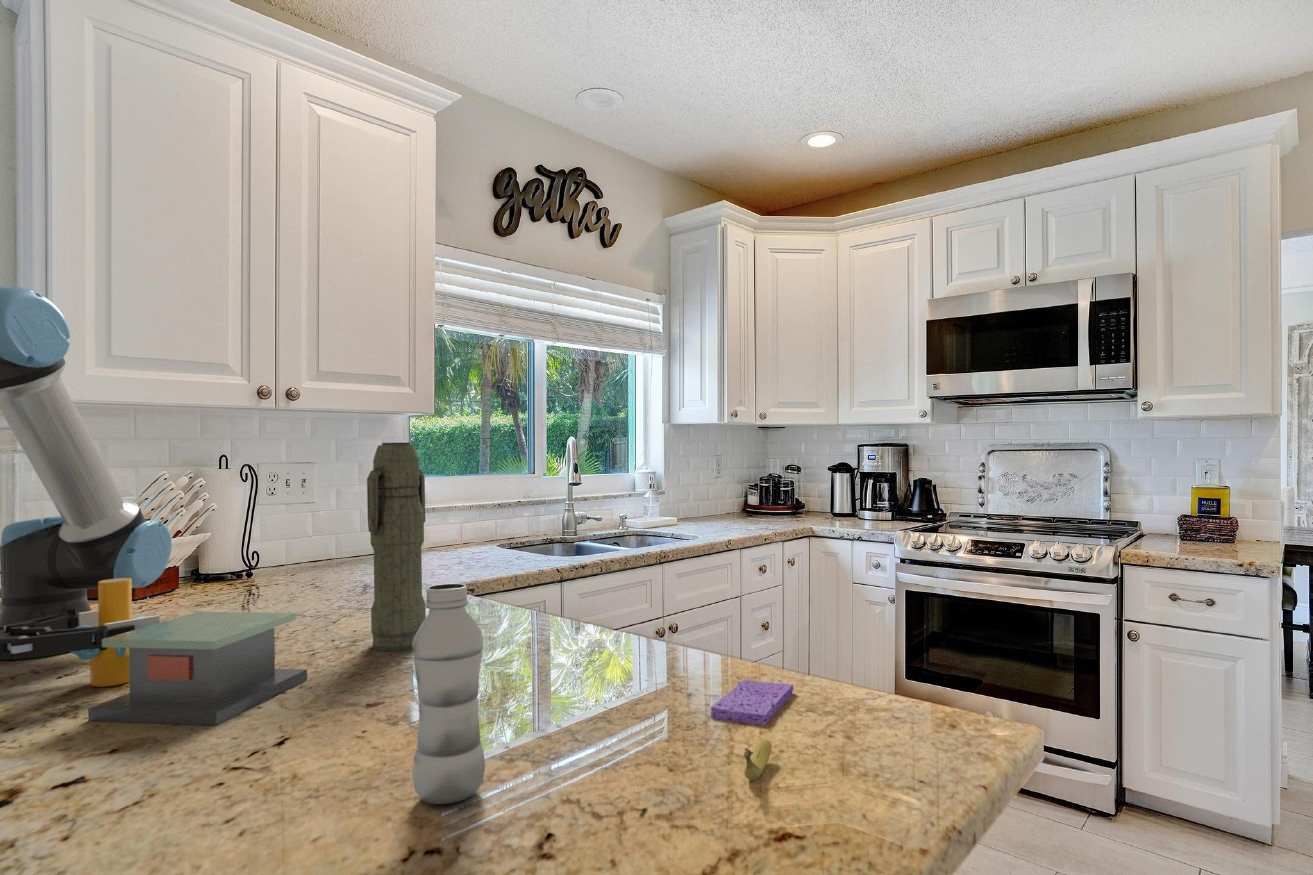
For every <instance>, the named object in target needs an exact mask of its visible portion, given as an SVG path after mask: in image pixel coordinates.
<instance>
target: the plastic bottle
mask: <svg viewBox="0 0 1313 875" xmlns="http://www.w3.org/2000/svg"><path fill="white" fill-rule="evenodd" d="M467 588H468V587H467V584H466V583H454V582H453V583H452V582H450V583H439V584H433V585H430V586H427V587H426V590H425V591H426V601H425V609H428V614H427V615H426V618H425V620H424V621H423V623H422V624H421V626H420V628H419V629H418V631H417V633H416V635H415V637H414V641H413V644H412V649H411V650H412V656H413V663H414V670H415V671H414V672H415V676H416V683H417V698H418V702H419V704H418V715H419V716H418V728H417V740H416V750H415V752H414V753H415V754H414V759H413V762H412V772H411V776H412V781H413V788H414V792H415V793H416V794H417V796H418V797H419V798H420V799H421V800H422V801H423V802H425V803H428V804H433V805H447V804H448V805H449V804H454V803H458V802H462V801H464V800H467V799H468V798H471V797H472V796H473V795H475V794H476V793H477V792H478V790H479V789H480V787H481V785H482V784H483V781H484V775H485V770H486V761H485V754H484V749H483V744H482V741H481V732H480V731H481V730H480V720H479V709H478V708H479V705H478V704H479V698H478V696H479V686H480V683H479V682H480V673H481V666H482V665H481V664H482V657H483V650H484V636H483V633H482V630H481V628H480V626H479V625H478V623H477V622H476V621H475V620H474V618H473V617H472V616H471V615H470V613H468V611H467V608H466V606H468V605H469V598H468V589H467Z"/></svg>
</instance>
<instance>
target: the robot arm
mask: <svg viewBox="0 0 1313 875" xmlns="http://www.w3.org/2000/svg"><path fill="white" fill-rule="evenodd" d="M70 332H71V331H70V327H69V324H68V322H67V320H66V318H65V316H64V314H63V312H61V310H60V309H59V308H58V306H56V305H55V303H53V302H52V300H50V299H48V298H47V297H45V296H44V295H42V294H41V293H38V292H36V291H35V290H34V291H33V290H32V289H29V288H24V287H16V286H5V285H0V412H1V415H2V416H3V418H4V420H5V422H6V423H7V424H8V426H9V428H10V430H11V432H12V433H13V435H14V437H15V438H16V441H18V444H19V445H20V447H21V449H22V450H23V452H24V453H23V454H24V455H25V456H26V458H27V460H28V462H29V463H30V465H31V467H32V468H33V470H34V472H35V473H36V475H37V477H38V479H39V481H40V482H41V484H42V485H43V488H44V489H45V492H47V494H48V496H49V498H50V500H51V501H52V503H53V504H54V506H55V508H56V510H57V511H58V513H59V515H56V516H49V517H42V518H41V517H39V518H34V519H33V518H32V519H26V520H22V521H21V520H20V521H15V522H11V523H9V524H7V525H5V527H4V528H3V529H2V532H1V538H0V539H1V542H0V594H1V595H0V596H1V600H0V601H1V603H0V604H1V606H0V607H1V608H0V609H1V610H0V661H7V660H9V661H10V660H11V661H12V660H14V661H15V660H24V659H34V658H42V657H49V656H53V655H54V656H55V655H60V654H65V653H66V654H67V653H71V651H80V650H88V649H97V648H98V649H100V651H102V650H106V649H107V647H102V639H105V638H108V637H112V636H115V635H119V634H122V633H126V632H129V631H133V630H136V629H140V628H143V627H147V626H150V625H153V624H157V623H160V615H159V614H156V615H151V616H142V617H143V618H137V617H136V618H137V619H135V618H132V619H131V620H125V621H119V622H113V623H106V624H104V626H98V609H96V610H92V609H91V607H90V604H89V601H88V593H87V592H88V589H89V590H90V589H91V590H92V589H93V590H95V589H97V590H98V582H99V581H102V580H108V579H117V578H131V579H132V589H135V588H143V587H147V586H149V585H151V584H152V583H154V582H156V580H158V578H159V577H161V575H162V574H163V573H164V571H165V570H166V568H167V566H168V564H169V562H170V557H171V555H172V554H171V553H172V547H173V541H172V536H171V532H170V529H169V528H168V527H167V526H166V524H164V523H163V522H161V521H158V520H154V519H152V520H146V518H145V517H144V514H143V513H142V511H141V508H140V506H139V504H137V503H136V502H135V501H133V500H130V499H125V498H124V497H122V494H121V492H120V491H119V488H118V487H117V485H116V482H115V481H114V479H113V476H112V475H111V473H110V471H109V469H108V468H107V466H106V463H105V462H104V459H103V458H102V455H101V453H100V452H99V450H98V448H97V446H96V444H95V442H94V440H93V438H92V436H91V434H90V433H89V431H88V430H89V429H88V428H87V427H86V424H85V423H84V420H83V419H82V417H81V415H80V413H79V411H78V409H77V407H76V405H75V403H74V401H73V399H72V397H71V395H70V394H69V391H68V390H67V388H66V386H65V383H64V382H63V380H62V377H61V374H62V373H63V372H64V370H65V368H66V366H67V362H66V360H65V359H64V357H65V355H67V353H68V351H69V349H70V345H71V343H70V342H69V341H68V339H70V338H71V333H70ZM79 626H91V627H84V628H76V627H79ZM93 635H94V638H93Z"/></svg>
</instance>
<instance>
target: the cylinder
mask: <svg viewBox="0 0 1313 875" xmlns="http://www.w3.org/2000/svg"><path fill="white" fill-rule="evenodd" d="M97 590H98V591H97V599H98V600H97V601H98V602H97V606H98V607H97V608H98V609H97V610H98V626H104V624H106V623H113V622H119V621H125V620H131V619H133V615H132V614H133V613H132V612H133V611H132V610H133V609H132V607H133V606H132V604H133V603H132V602H133V601H132V600H133V597H132V595H133V594H132V593H133V592H132V590H133V588H132V579H131V578H117V579H108V580H102V581H99V582H98V589H97ZM143 617H144V616H137V617H135V618H134V619H137V618H143ZM84 627H91V626H79V627H76V628H84ZM93 638H94V635H93ZM70 653H72V654H73V655H76V656H77V657H78V658H79V659H82V660H87V661H88V660H89V674H90V676H89V679H90V680H89V684H90V685H91V686H92V687H98V688H99V687H101V688H102V687H104V688H105V687H113V686H121V685H124V684H128V683H129V648H117V647H107V649H106V650H102V651H100V649H98V648H97V649H88V650H80V651H71V652H70Z"/></svg>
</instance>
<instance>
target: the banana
mask: <svg viewBox="0 0 1313 875" xmlns="http://www.w3.org/2000/svg"><path fill="white" fill-rule="evenodd" d="M772 748H773V745H772V742H771V741H770V740H768V739H763V740H760V741H759V742H758V743H757V744H756V746H755V748H754V750H753V751H751V750H750V749H748V748H747V747H746V748H744V752H743V757H745V760H746V763H745V767H744V776H745V778H746V779H747V780H749V781H756V780H757V779H758V778H760V776H761V775H763V774H762V773H763V772H764V771H765V768H766V766H767V763H768V761H769V758H770V755H771V751H772Z"/></svg>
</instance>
